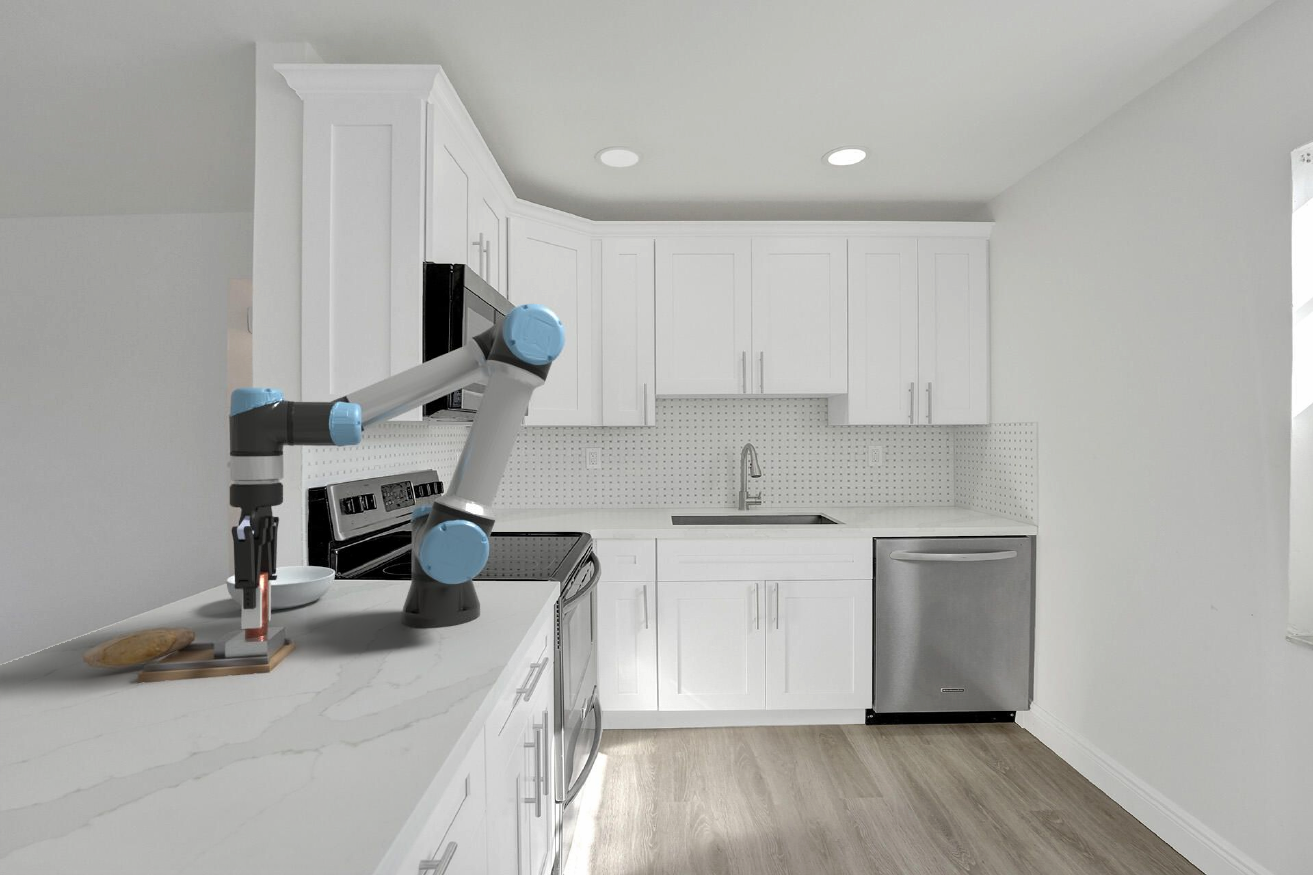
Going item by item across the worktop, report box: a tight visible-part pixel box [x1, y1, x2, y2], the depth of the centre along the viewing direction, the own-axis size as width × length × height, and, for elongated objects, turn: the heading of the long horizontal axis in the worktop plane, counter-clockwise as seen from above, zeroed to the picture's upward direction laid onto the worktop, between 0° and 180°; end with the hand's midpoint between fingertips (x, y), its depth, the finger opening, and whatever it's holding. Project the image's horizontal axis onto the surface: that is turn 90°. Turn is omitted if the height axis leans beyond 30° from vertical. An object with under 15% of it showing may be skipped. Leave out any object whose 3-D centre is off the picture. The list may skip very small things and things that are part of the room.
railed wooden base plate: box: [137, 637, 296, 684], centre depth 105 cm, size 18×12×2 cm, turn 102°
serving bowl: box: [225, 565, 336, 611], centre depth 143 cm, size 21×21×7 cm
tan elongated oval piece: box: [81, 626, 197, 669], centre depth 104 cm, size 5×14×4 cm
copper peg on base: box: [213, 572, 286, 660], centre depth 106 cm, size 8×8×13 cm
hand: (256, 623), depth 106 cm, fingers closed on copper peg on base, 3 cm apart
